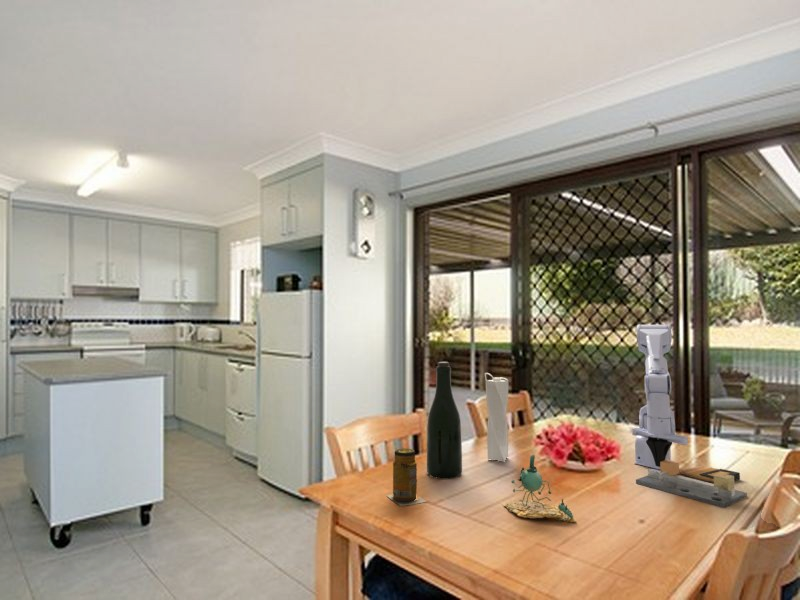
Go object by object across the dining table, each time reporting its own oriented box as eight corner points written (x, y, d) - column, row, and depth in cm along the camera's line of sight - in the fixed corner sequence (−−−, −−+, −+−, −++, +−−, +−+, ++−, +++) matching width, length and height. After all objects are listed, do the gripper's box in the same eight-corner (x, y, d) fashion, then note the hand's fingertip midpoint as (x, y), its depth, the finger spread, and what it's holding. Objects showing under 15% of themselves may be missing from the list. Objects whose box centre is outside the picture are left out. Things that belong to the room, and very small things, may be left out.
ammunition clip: (717, 478, 134) (675, 468, 144) (717, 485, 133) (675, 474, 144) (739, 472, 138) (697, 463, 149) (740, 479, 138) (697, 469, 149)
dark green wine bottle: (450, 466, 152) (449, 359, 153) (469, 476, 143) (468, 362, 144) (420, 471, 147) (419, 361, 149) (437, 481, 138) (436, 363, 139)
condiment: (411, 491, 130) (410, 446, 131) (426, 502, 123) (426, 453, 123) (385, 496, 127) (385, 449, 128) (400, 507, 119) (400, 457, 120)
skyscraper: (482, 460, 158) (481, 373, 160) (487, 455, 165) (486, 371, 166) (507, 463, 155) (506, 374, 156) (511, 457, 162) (510, 372, 163)
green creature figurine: (562, 533, 104) (553, 462, 106) (492, 518, 117) (486, 455, 119) (583, 520, 111) (574, 453, 113) (515, 507, 124) (508, 447, 126)
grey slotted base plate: (635, 483, 136) (635, 461, 136) (660, 474, 143) (659, 454, 144) (724, 507, 118) (723, 483, 118) (746, 496, 125) (746, 473, 126)
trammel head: (654, 479, 133) (654, 463, 134) (667, 474, 137) (666, 459, 137) (666, 482, 131) (665, 466, 131) (679, 477, 135) (678, 462, 135)
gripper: (625, 414, 141) (627, 462, 141) (677, 422, 130) (679, 475, 129) (639, 411, 145) (640, 458, 145) (691, 419, 133) (692, 470, 133)
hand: (659, 465), depth 137 cm, fingers closed
